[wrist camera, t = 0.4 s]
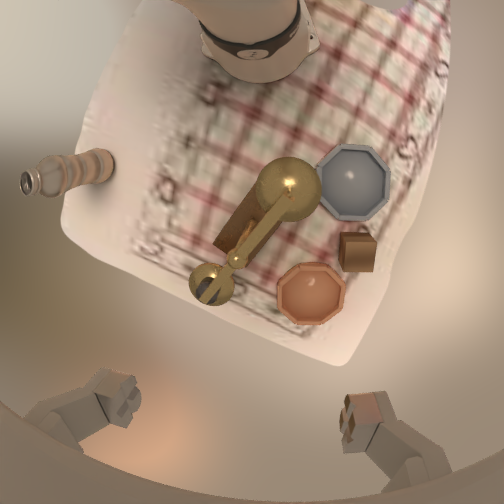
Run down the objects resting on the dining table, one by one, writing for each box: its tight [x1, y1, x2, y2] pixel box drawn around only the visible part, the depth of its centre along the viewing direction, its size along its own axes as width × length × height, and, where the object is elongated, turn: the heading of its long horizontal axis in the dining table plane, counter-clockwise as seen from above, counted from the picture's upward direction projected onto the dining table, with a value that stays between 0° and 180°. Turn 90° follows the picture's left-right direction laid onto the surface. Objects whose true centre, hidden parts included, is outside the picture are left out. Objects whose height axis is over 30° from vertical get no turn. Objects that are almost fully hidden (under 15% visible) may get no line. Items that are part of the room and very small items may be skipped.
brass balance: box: [189, 157, 322, 306], centre depth 37 cm, size 26×7×19 cm, turn 145°
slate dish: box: [316, 144, 391, 221], centre depth 40 cm, size 12×12×2 cm
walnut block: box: [338, 232, 377, 272], centre depth 43 cm, size 5×5×5 cm
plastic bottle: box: [19, 148, 113, 198], centre depth 35 cm, size 6×7×20 cm
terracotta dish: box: [277, 262, 346, 325], centre depth 48 cm, size 12×12×2 cm
